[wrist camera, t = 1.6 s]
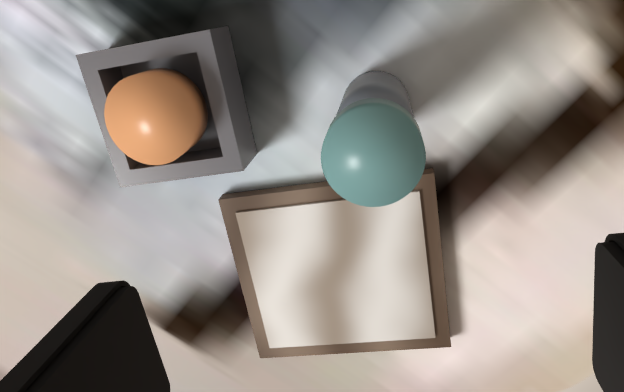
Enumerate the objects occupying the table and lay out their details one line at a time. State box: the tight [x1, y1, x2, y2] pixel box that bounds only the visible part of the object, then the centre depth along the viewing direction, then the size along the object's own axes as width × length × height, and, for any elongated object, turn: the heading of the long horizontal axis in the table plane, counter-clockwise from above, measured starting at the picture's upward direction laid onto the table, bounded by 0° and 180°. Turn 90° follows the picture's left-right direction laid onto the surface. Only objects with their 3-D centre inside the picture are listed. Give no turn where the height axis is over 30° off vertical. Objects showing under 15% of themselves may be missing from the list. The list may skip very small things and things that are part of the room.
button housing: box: [76, 26, 257, 187], centre depth 30 cm, size 8×8×4 cm
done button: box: [104, 68, 208, 165], centre depth 28 cm, size 5×5×2 cm
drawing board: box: [219, 168, 451, 358], centre depth 34 cm, size 14×13×1 cm
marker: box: [321, 71, 426, 207], centre depth 25 cm, size 4×4×11 cm
